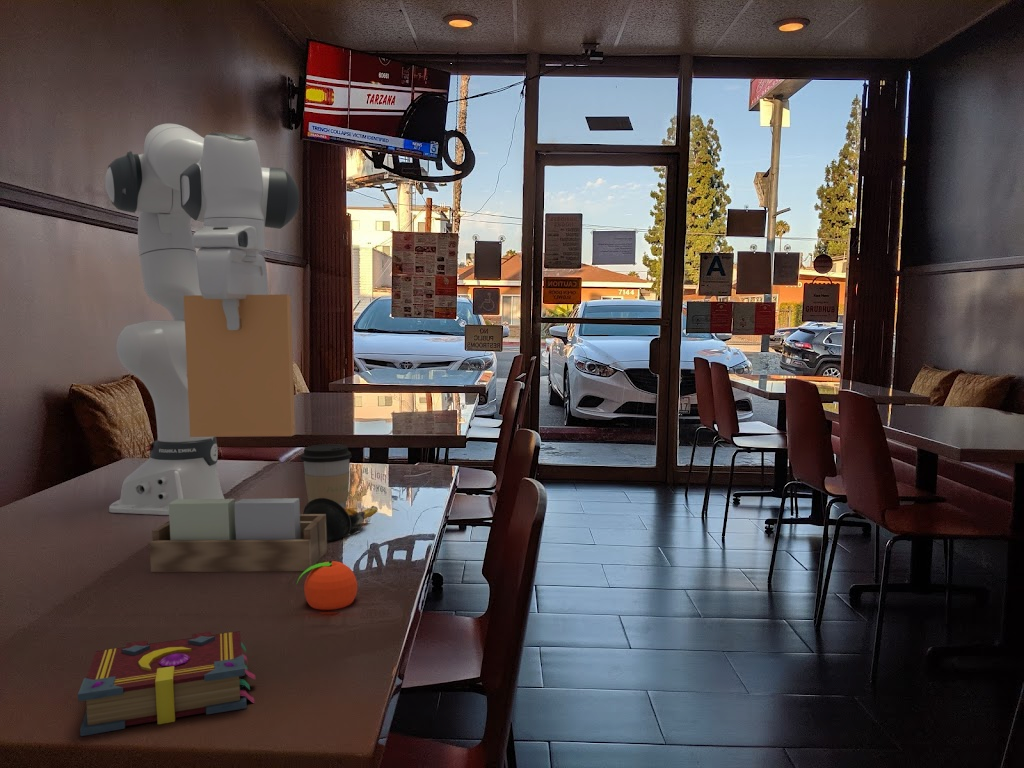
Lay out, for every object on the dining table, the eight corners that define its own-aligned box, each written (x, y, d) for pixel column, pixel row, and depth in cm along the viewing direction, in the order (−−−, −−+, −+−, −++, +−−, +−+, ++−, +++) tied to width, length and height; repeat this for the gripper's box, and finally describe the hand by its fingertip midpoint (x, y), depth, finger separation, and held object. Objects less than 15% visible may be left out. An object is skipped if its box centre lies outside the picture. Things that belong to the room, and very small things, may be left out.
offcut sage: (171, 568, 123) (168, 503, 122) (180, 562, 126) (177, 499, 125) (230, 568, 123) (227, 503, 122) (237, 562, 126) (234, 498, 125)
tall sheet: (190, 436, 127) (183, 295, 125) (195, 434, 129) (188, 295, 127) (291, 436, 126) (286, 294, 124) (295, 434, 128) (290, 294, 126)
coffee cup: (341, 533, 147) (339, 452, 146) (293, 531, 149) (290, 451, 148) (361, 520, 156) (359, 443, 155) (316, 518, 158) (313, 442, 157)
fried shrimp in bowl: (278, 525, 136) (324, 471, 152) (313, 576, 139) (354, 519, 155) (321, 508, 132) (362, 456, 148) (355, 562, 135) (393, 504, 151)
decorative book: (96, 689, 87) (94, 644, 87) (253, 664, 93) (251, 622, 92) (80, 740, 77) (77, 689, 76) (258, 709, 82) (256, 662, 82)
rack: (151, 581, 122) (148, 532, 121) (181, 560, 132) (179, 515, 132) (310, 580, 121) (308, 531, 121) (327, 559, 132) (325, 514, 131)
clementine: (301, 627, 103) (299, 573, 102) (293, 609, 109) (291, 558, 109) (363, 617, 106) (362, 564, 105) (352, 600, 112) (350, 550, 112)
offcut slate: (237, 568, 123) (234, 503, 122) (244, 562, 126) (241, 498, 125) (296, 567, 123) (293, 502, 122) (301, 561, 126) (299, 498, 125)
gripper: (238, 245, 135) (241, 328, 136) (187, 234, 115) (191, 331, 116) (276, 245, 135) (279, 328, 136) (231, 233, 115) (235, 331, 116)
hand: (238, 329), depth 126 cm, fingers closed on tall sheet, 2 cm apart
